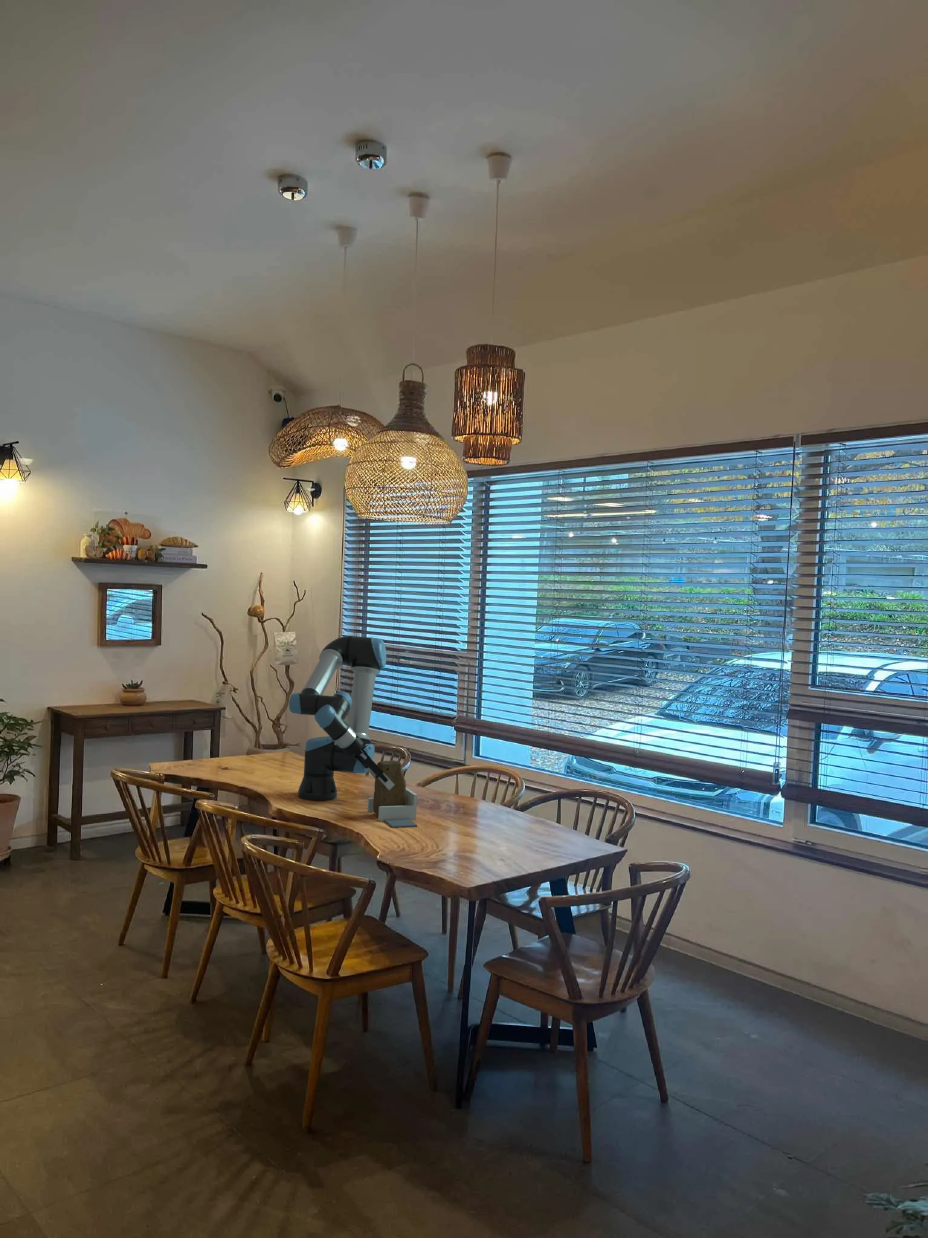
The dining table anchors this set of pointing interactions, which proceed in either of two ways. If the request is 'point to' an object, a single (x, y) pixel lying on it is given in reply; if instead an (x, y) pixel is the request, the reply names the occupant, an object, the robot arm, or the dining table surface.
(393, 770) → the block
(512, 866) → the dining table surface
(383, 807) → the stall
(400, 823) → the mat
